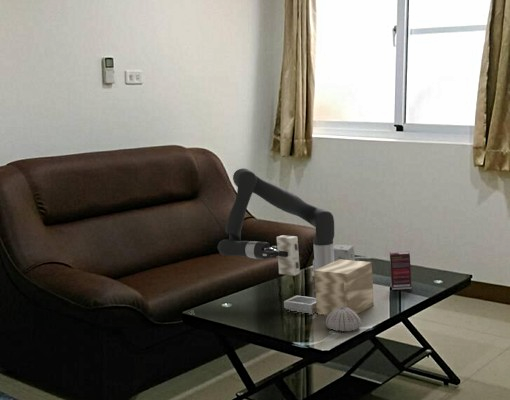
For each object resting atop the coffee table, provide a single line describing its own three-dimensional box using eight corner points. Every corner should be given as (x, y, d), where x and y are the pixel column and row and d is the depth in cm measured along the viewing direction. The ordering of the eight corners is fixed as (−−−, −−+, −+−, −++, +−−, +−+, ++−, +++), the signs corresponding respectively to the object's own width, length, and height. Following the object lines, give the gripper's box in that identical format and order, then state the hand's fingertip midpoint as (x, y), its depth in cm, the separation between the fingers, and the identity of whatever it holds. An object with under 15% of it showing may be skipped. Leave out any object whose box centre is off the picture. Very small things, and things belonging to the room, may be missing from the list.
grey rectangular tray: (284, 310, 327) (283, 301, 327) (297, 304, 335) (296, 295, 334) (311, 314, 319) (311, 305, 319) (324, 308, 327) (323, 298, 326)
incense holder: (330, 267, 394) (329, 247, 392) (338, 263, 401) (337, 243, 399) (348, 269, 388) (347, 248, 387) (356, 265, 395) (355, 244, 394)
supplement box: (410, 286, 350) (409, 251, 348) (411, 289, 346) (410, 253, 343) (390, 287, 351) (389, 252, 349) (391, 290, 347) (390, 254, 344)
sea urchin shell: (334, 321, 309) (333, 301, 308) (367, 324, 302) (366, 304, 301) (320, 332, 298) (318, 311, 297) (353, 335, 291) (352, 314, 290)
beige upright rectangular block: (279, 273, 340) (276, 237, 337) (284, 271, 343) (281, 235, 340) (296, 275, 334) (294, 238, 332) (301, 273, 337) (299, 236, 335)
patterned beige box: (312, 313, 321) (309, 269, 318) (337, 300, 337) (335, 258, 334) (349, 318, 311) (346, 273, 308) (373, 304, 327) (371, 262, 324)
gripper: (247, 245, 341) (280, 248, 330) (267, 238, 352) (299, 240, 342) (249, 262, 342) (281, 265, 332) (268, 254, 353) (300, 257, 343)
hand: (290, 253), depth 337 cm, fingers closed on beige upright rectangular block, 4 cm apart
